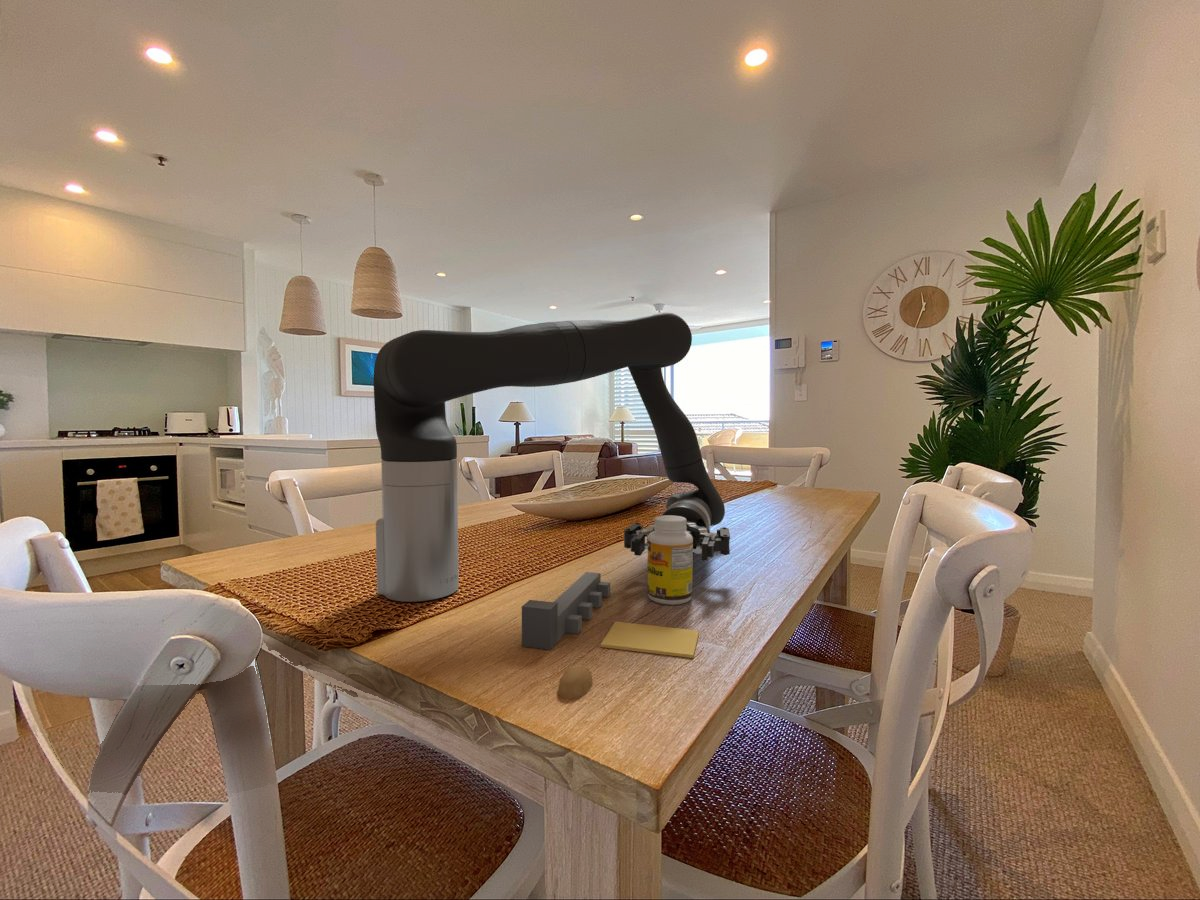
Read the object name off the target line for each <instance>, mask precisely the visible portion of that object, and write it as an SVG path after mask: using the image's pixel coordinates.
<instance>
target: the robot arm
mask: <svg viewBox="0 0 1200 900" xmlns="http://www.w3.org/2000/svg"><path fill="white" fill-rule="evenodd" d="M692 341H693V336H692V331H691V329H690V327H689V325H688V323H687V322H686V321H685V320H684V319H683V318H682V317H681V316H679V315H677V314H676V313H673V312H669V311H661V312H656V313H654V314H651V315H649V314H648V315H646V316H640V317H636V318H630V319H621V320H620V319H619V320H615V319H589V320H587V319H586V320H561V321H547V322H537V323H530V324H525V325H519V326H515V327H511V328H507V329H503V330H502V329H501V330H497V331H449V330H435V329H434V330H431V329H420V330H414V331H410V332H407V333H405V334H402V335H400V336H397V337H394V338H393V339H391V340H389V341H387V342H386V343H385V344H384V345H383V346H381V348H380V349H379V351H378V353H377V354H376V357H375V360H374V366H373V378H372V379H373V397H374V398H373V400H374V402H373V403H374V420H375V431H376V437H377V439H378V442H379V446H380V447H379V448H380V459H381V462H380V463H381V501H382V504H381V505H382V518H379V519H377V520H376V522H375V544H376V545H375V546H376V547H375V549H376V550H375V551H376V552H375V553H376V554H375V555H376V559H375V560H376V594H377V595H383V596H384V597H385V598H387V599H389V600H391V601H397V602H406V603H407V602H409V603H412V602H425V601H432V600H437V599H440V598H444V597H447V596H450V595H451V594H453V593H455V592H456V591H458V589H459V587H460V586H459V576H460V572H459V514H458V513H459V512H458V510H459V508H458V507H459V505H458V504H459V503H458V501H459V499H458V491H459V490H458V447H457V446H458V445H457V439H456V438H455V436H454V435H453V433H452V432H451V431H450V428H449V426H448V423H447V415H446V402H449V401H452V400H455V399H459V398H462V397H466V396H468V395H472V394H476V393H480V392H485V391H488V390H493V389H498V388H505V387H516V388H517V387H520V388H521V387H522V388H536V387H550V386H557V385H564V384H569V383H576V382H579V381H585V380H587V379H592V378H595V377H599V376H603V375H606V374H608V373H612V372H615V371H618V370H621V369H624V368H628V371H629V373H630V375H631V377H632V380H633V382H634V384H635V386H636V389H637V391H638V394H639V396H640V398H641V401H642V403H643V405H644V407H645V409H646V412H647V414H648V416H649V419H650V423H651V425H652V427H653V430H654V433H655V435H656V440H657V443H658V446H659V451H660V455H661V458H662V461H663V467H664V470H665V471H664V472H665V473H666V476H667V479H668V480H669V481H670V482H672V483H680V484H682V483H683V484H691V485H694V487H696V488H697V489H693V490H688V491H683V492H678V493H674V494H672V495H671V496H669V497H668V498H667V501H666V506H665V509H666V510H665V511H664V512H663V513H662V514H661V515H660V516H664V515H673V516H681V517H685V518H686V526H687V528H686V529H687V531H686V532H688V533H689V534H691V535H692V537H693V555H695V554H697V555H701V561H708V560H709V558H714V556H715V555H716V552H719V554H720V555H722V556H729V555H731V554H730V552H731V550H730V540H731V533H730V528H729V527H725V526H723V527H720V528H718V529H716V532H711V527H713V526H716V525H719V524H721V522H722V521H723V519H724V517H725V513H726V510H725V509H726V508H725V503H724V500H723V499H722V497H721V494H720V493H719V491H718V490H717V489H716V487H715V485H714V484H713V482H712V480H711V478H710V476H709V474H708V472H707V470H706V467H705V464H704V461H703V456H702V452H701V448H700V444H699V441H698V436H697V433H696V430H695V429H694V426H693V425H692V422H691V421H690V419H689V418H688V417H687V415H686V414H685V413H684V412H683V410H682V408H680V406H679V405H678V403H677V402H676V400H674V398H673V397H672V394H671V393H670V391H669V390H668V387H667V384H666V383H665V380H664V376H663V371H662V368H667V367H671V366H674V365H676V364H678V363H679V362H681V361H682V360H683V359H684V358H685V357H686V356H687V355H688V353H689V352H690V349H691V347H692ZM623 530H624V531H623V540H624V541H623V548H625V549H628V550H629V549H630V551H631V553H634V556H638V557H639V556H641V555H642V554H643V553H644V552H645V550H648V536H649V534H650V533H651V532H653V531H655V530H654V524H650V525H647V527H646V528H644V526H643V524H642V523H641V522H633V523H631V524H630V525H628V526H627V527H626V528H625V529H623ZM646 539H647V540H646Z"/></svg>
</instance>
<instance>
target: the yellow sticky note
mask: <svg viewBox="0 0 1200 900" xmlns="http://www.w3.org/2000/svg"><path fill="white" fill-rule="evenodd" d="M699 635H700V630H697V629H696V630H695V629H687V628H679V627H678V628H677V627H669V626H658V625H653V624H652V625H651V624H643V623H641V624H640V623H633V622H632V623H630V622H622V621H614V623H613V625H612V626H611V628H610V629H609V631H608V632H607V634H606V636H605V637H604V638H603V640H602V641H601V643H600V648H608V649H615V650H622V651H631V652H632V651H633V652H639V653H648V654H657V655H664V656H673V657H674V656H675V657H679V658H688V659H694V657H695V651H696V648H697V643H698V639H699Z"/></svg>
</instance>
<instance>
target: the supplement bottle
mask: <svg viewBox="0 0 1200 900" xmlns="http://www.w3.org/2000/svg"><path fill="white" fill-rule="evenodd" d="M653 519H654V523H653V525H654V530H655V531H653V532H651V533H650V534H649V536H648V549H647V595H648V596H647V597H649V599H650V600H652V601H653V602H655V603H658V604H660V605H661V604H662V605H671V606H676V605H683V604H685V603H688V602H690V600H691V599H692V597H693V570H694V569H693V567H694V565H693V562H694V560H693V557H694V556H693V555H694V554H693V537H692V535H691V534H689V533H688V532H686V531H687V529H686V528H687V526H686V518H685V517H681V516H673V515H664V516H661V515H657V516H655V517H654V518H653Z"/></svg>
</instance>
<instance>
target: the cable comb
mask: <svg viewBox="0 0 1200 900" xmlns="http://www.w3.org/2000/svg"><path fill="white" fill-rule="evenodd" d="M601 575H602V574H601V573H600V572H590V571H585V572H584V573H583V574H582V575H581V576H580V577H579V578H578V579H577V580H575V582H574V583H572V584H571V585H570V586H569V587H568V588H567V589H566V590H565V591H564V592H563V593H561V594H560V595H559V596H558V597H557V598H556V599H555V600H554V601H546V600H536V599H529V600H528V601H526V602H525V603H524V604H523V605H522V606H521V647H524V648H531V649H538V650H539V649H540V650H549V651H551V650H552V649H553V648H554V646H555V645H556V644H557V643H558V642H559V641H560V640H561V638H562V637H564V635H565V634H566V633H568V634H577V635H578V634H580V633H581V631H582V629H583V621H584V620H587V621H590V620H591V619H592V618H593V608H597V609H599V608H600V607H602V605H603V598H609V596H610V595H611V582H607V581H601V579H602V578H601Z"/></svg>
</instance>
